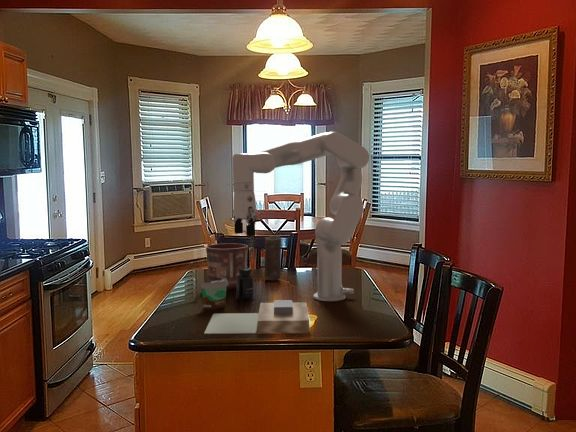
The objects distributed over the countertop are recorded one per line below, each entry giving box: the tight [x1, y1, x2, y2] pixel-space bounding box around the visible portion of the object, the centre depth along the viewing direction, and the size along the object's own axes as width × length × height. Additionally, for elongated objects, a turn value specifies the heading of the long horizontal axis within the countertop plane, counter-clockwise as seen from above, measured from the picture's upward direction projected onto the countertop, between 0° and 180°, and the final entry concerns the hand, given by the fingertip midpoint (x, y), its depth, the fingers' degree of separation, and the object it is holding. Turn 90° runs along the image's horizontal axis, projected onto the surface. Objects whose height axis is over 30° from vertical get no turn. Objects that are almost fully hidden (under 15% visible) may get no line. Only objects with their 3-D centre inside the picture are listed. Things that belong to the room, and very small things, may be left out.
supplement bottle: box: [235, 267, 255, 302], centre depth 207 cm, size 7×7×12 cm
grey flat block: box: [273, 299, 293, 315], centre depth 174 cm, size 6×9×2 cm, turn 0°
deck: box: [257, 301, 310, 335], centre depth 174 cm, size 16×22×4 cm
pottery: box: [205, 242, 249, 291], centre depth 227 cm, size 18×18×18 cm
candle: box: [263, 235, 282, 282], centre depth 239 cm, size 8×7×20 cm
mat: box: [203, 312, 259, 335], centre depth 175 cm, size 16×22×1 cm
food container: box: [200, 277, 228, 310], centre depth 195 cm, size 12×6×10 cm, turn 148°
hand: (244, 234), depth 193 cm, fingers open, 9 cm apart
